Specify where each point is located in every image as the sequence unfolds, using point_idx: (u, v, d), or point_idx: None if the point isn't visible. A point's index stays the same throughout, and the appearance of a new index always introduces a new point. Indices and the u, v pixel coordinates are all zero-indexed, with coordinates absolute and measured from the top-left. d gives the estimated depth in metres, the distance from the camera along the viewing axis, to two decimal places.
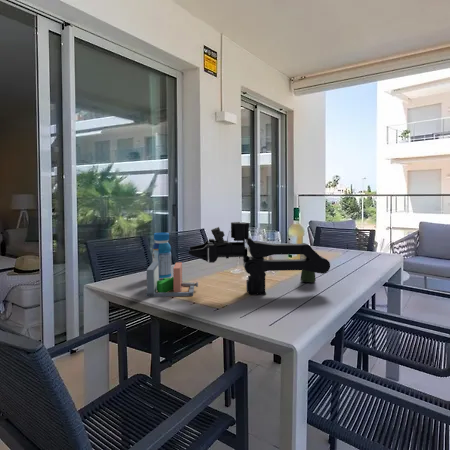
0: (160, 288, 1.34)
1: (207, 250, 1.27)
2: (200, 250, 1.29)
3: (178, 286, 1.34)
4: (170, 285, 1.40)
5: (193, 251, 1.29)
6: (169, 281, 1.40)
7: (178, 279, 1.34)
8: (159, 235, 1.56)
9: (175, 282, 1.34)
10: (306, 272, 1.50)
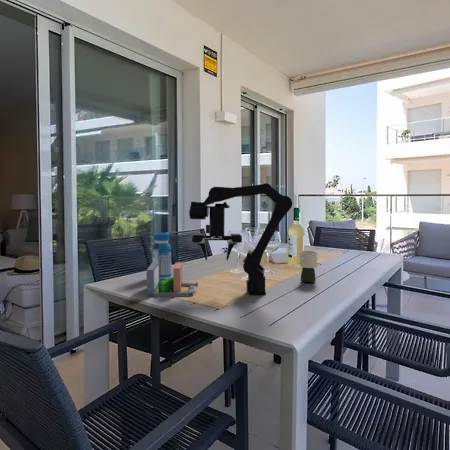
0: (163, 288, 1.34)
1: None
2: None
3: (178, 286, 1.34)
4: (171, 285, 1.40)
5: None
6: (170, 281, 1.39)
7: (178, 279, 1.34)
8: (159, 235, 1.56)
9: (175, 282, 1.34)
10: (306, 272, 1.50)
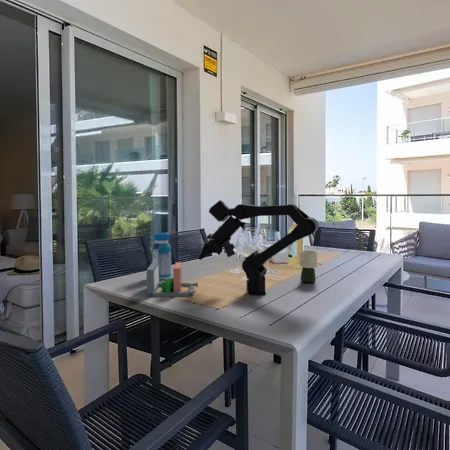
0: (168, 289, 1.33)
1: None
2: None
3: (178, 286, 1.34)
4: (173, 285, 1.40)
5: None
6: (173, 281, 1.39)
7: (178, 279, 1.34)
8: (159, 235, 1.56)
9: (175, 282, 1.34)
10: (306, 272, 1.50)
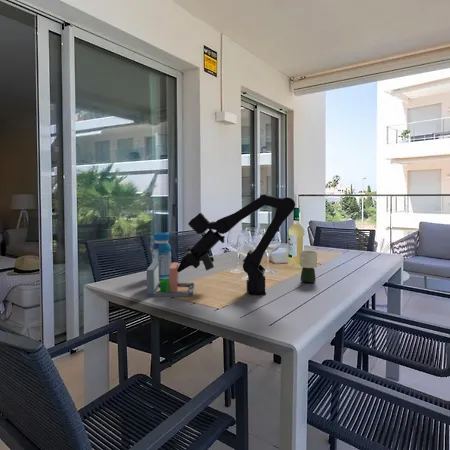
0: (168, 288, 1.33)
1: None
2: None
3: (174, 286, 1.34)
4: None
5: None
6: None
7: (174, 279, 1.34)
8: (159, 235, 1.56)
9: (171, 282, 1.34)
10: (306, 272, 1.50)
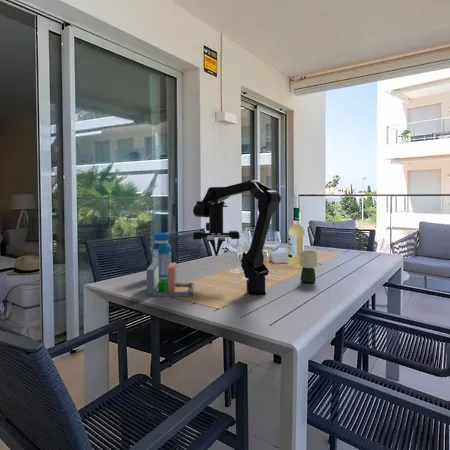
0: (166, 289, 1.33)
1: (207, 239, 1.49)
2: None
3: (172, 286, 1.34)
4: None
5: None
6: None
7: (172, 279, 1.34)
8: (159, 235, 1.56)
9: (169, 282, 1.34)
10: (306, 272, 1.50)
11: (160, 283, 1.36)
